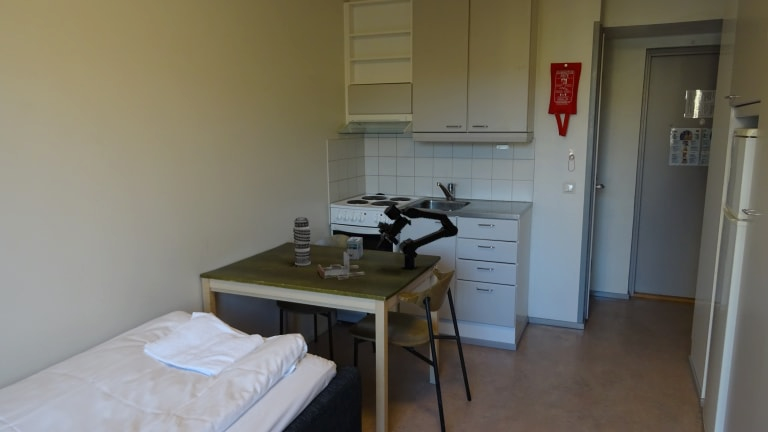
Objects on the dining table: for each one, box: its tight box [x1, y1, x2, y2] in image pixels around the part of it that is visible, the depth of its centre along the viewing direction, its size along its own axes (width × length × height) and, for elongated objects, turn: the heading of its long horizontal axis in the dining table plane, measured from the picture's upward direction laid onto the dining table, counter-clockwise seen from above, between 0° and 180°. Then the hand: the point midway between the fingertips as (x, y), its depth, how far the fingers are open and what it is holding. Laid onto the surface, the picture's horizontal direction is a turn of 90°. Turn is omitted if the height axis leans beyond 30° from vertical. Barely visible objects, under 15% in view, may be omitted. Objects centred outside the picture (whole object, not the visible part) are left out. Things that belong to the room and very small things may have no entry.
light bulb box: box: [346, 236, 364, 260], centre depth 293 cm, size 11×7×11 cm, turn 168°
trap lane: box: [317, 263, 365, 281], centre depth 262 cm, size 21×23×4 cm
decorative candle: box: [292, 216, 312, 266], centre depth 279 cm, size 9×9×25 cm
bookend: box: [324, 251, 351, 276], centre depth 261 cm, size 12×10×10 cm
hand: (377, 248), depth 266 cm, fingers closed
